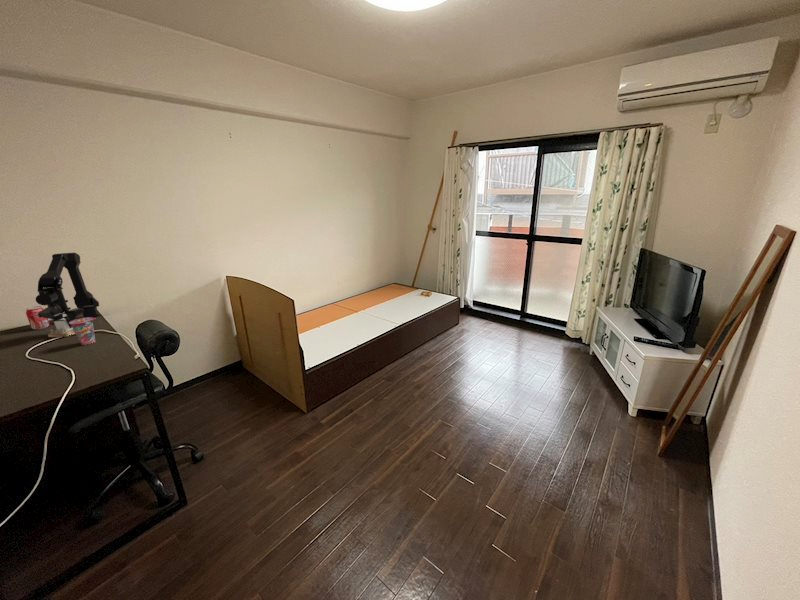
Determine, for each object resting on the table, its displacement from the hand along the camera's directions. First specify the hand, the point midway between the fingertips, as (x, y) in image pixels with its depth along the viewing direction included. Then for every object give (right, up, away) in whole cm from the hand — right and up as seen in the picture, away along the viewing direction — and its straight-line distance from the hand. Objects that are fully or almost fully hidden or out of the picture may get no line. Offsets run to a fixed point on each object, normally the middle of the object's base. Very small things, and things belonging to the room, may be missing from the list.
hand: (66, 327), depth 171 cm
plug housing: (0, -1, 0) cm, 1 cm away
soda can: (-23, -1, +9) cm, 25 cm away
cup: (+24, -6, -13) cm, 28 cm away
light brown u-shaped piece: (0, -3, 0) cm, 3 cm away
